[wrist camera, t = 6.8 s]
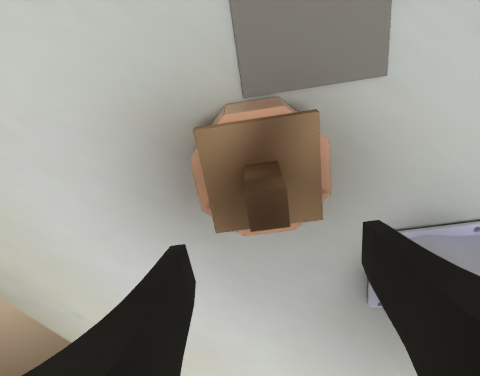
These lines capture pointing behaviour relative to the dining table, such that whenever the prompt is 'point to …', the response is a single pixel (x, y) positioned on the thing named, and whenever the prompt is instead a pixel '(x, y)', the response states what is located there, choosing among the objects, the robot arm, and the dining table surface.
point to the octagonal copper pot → (251, 112)
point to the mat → (309, 42)
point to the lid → (262, 171)
